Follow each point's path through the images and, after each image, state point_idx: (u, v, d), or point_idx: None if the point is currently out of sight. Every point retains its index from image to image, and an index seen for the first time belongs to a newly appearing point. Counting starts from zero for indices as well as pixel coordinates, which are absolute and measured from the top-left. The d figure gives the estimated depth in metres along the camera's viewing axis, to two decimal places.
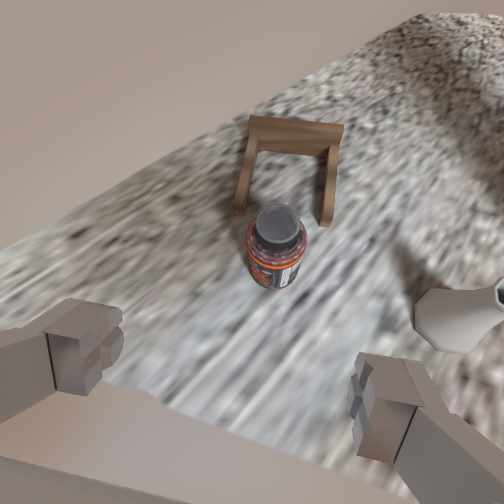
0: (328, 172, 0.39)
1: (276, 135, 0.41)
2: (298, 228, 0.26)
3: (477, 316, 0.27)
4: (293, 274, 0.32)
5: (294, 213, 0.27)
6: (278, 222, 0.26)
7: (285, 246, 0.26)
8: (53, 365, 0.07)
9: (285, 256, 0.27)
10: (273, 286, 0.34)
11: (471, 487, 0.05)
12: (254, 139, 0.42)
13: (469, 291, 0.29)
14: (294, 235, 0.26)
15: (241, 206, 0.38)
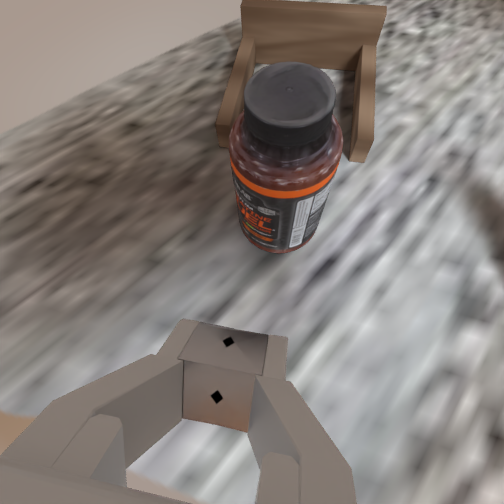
0: (362, 79, 0.25)
1: (283, 31, 0.28)
2: (332, 100, 0.13)
3: None
4: (313, 221, 0.19)
5: (323, 74, 0.13)
6: (291, 90, 0.13)
7: (304, 141, 0.13)
8: (185, 393, 0.07)
9: (303, 168, 0.14)
10: (278, 244, 0.20)
11: (278, 444, 0.05)
12: (250, 40, 0.28)
13: None
14: (324, 112, 0.12)
15: (228, 127, 0.24)
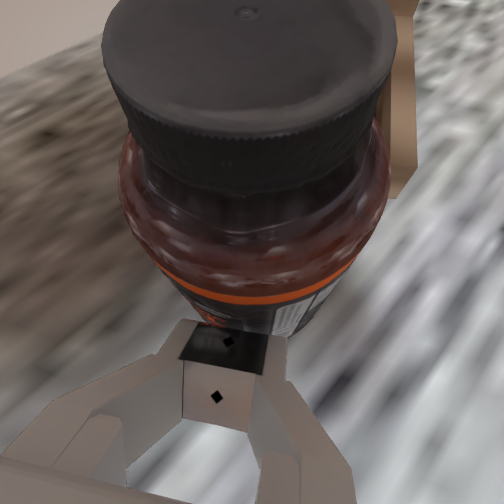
0: (394, 67, 0.16)
1: None
2: (388, 48, 0.04)
3: None
4: (313, 312, 0.10)
5: None
6: (252, 16, 0.04)
7: (291, 180, 0.04)
8: (185, 393, 0.07)
9: (287, 249, 0.05)
10: None
11: (278, 445, 0.05)
12: None
13: None
14: (362, 85, 0.03)
15: None
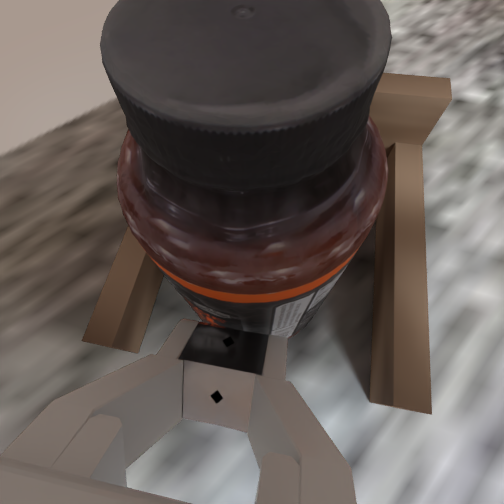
0: (398, 229, 0.12)
1: None
2: (382, 44, 0.04)
3: None
4: (312, 312, 0.10)
5: None
6: (249, 14, 0.04)
7: (289, 175, 0.04)
8: (185, 392, 0.07)
9: (286, 246, 0.05)
10: None
11: (277, 444, 0.05)
12: None
13: None
14: (357, 80, 0.03)
15: (112, 346, 0.11)
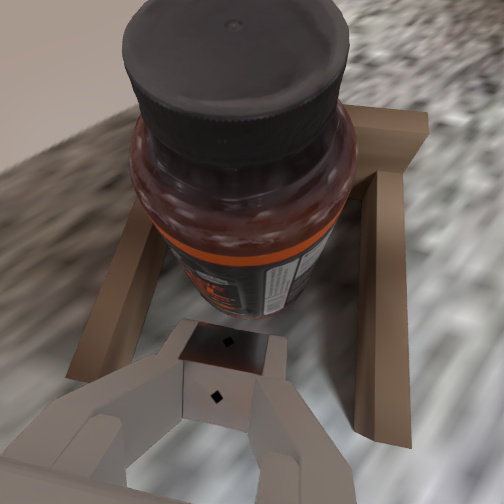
0: (379, 259, 0.13)
1: None
2: (341, 51, 0.05)
3: None
4: (301, 283, 0.11)
5: None
6: (239, 27, 0.05)
7: (272, 154, 0.05)
8: (185, 393, 0.07)
9: (272, 213, 0.06)
10: (246, 313, 0.12)
11: (278, 444, 0.05)
12: None
13: None
14: (321, 80, 0.05)
15: None
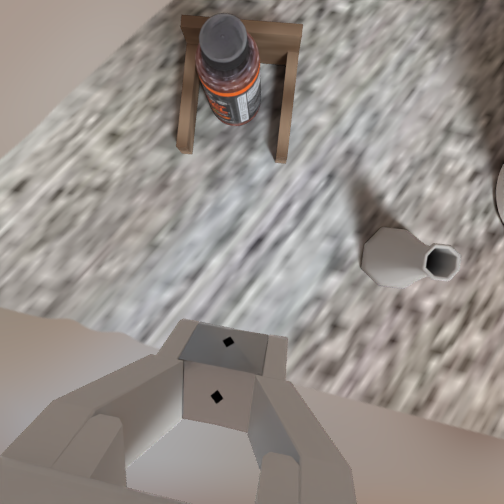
0: (284, 95, 0.33)
1: None
2: (244, 43, 0.24)
3: (410, 270, 0.29)
4: (252, 105, 0.32)
5: (240, 24, 0.24)
6: (223, 37, 0.24)
7: (233, 67, 0.25)
8: (185, 393, 0.07)
9: (235, 80, 0.27)
10: (234, 120, 0.34)
11: (278, 444, 0.05)
12: (194, 48, 0.33)
13: (409, 244, 0.29)
14: (240, 51, 0.24)
15: (186, 148, 0.34)
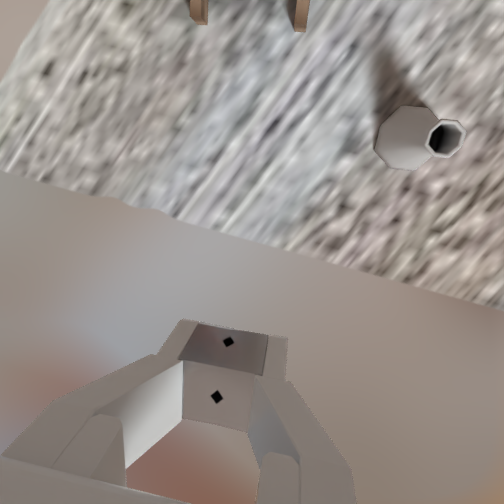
0: None
1: None
2: None
3: (416, 149, 0.30)
4: None
5: None
6: None
7: None
8: (185, 393, 0.07)
9: None
10: None
11: (278, 444, 0.05)
12: None
13: (422, 122, 0.29)
14: None
15: (200, 17, 0.32)
